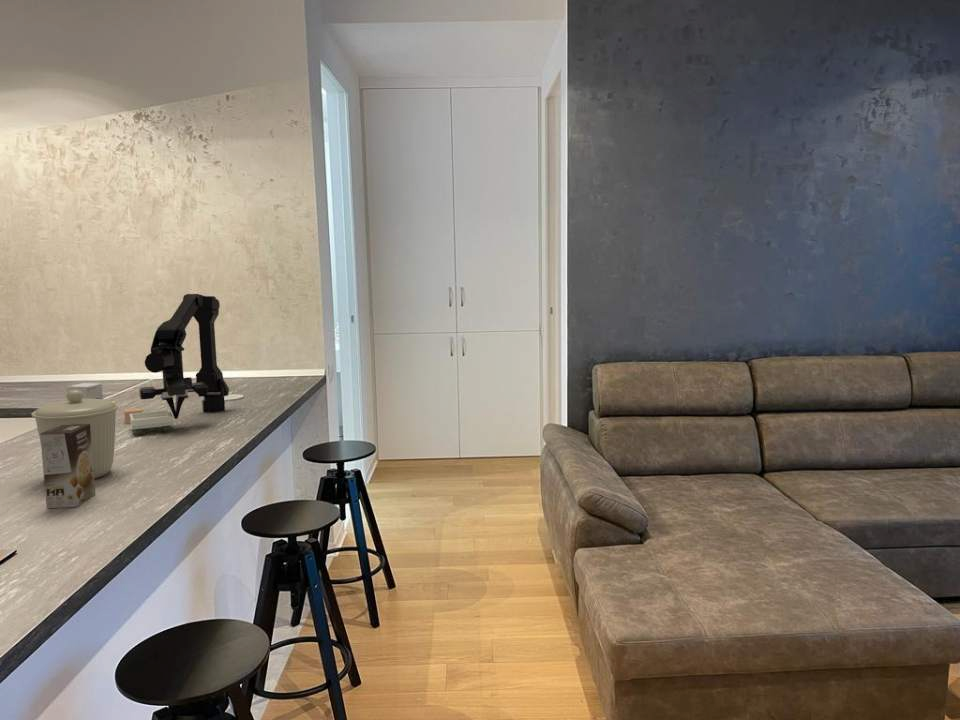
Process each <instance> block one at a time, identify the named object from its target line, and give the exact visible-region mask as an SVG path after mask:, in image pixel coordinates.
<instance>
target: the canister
mask: <svg viewBox="0 0 960 720" xmlns="http://www.w3.org/2000/svg"><path fill="white" fill-rule="evenodd" d="M65 395H66V396H65V397H66V399H67V400H60V401H54V402H50V403H47V404H44V405H42V406H40V407H38V408H37V409H36V410H34V411H32V412H31V417H32V418H35V423H36V428H37V432H38V437H39V440H40V443H41V436H40V433H43V432H46V431H48V430H50V429H53V428H55V427H58V426H60V425H70V424H90V430H91V442H92V455H93V468H94V480H95V479H98V478H102V477H103V476H106V474H108V473H109V472H110V471H111V469H112V468H113V464H114V455H115V444H116V443H115V439H116V417H117V416H116V414H117V412H116V411H117V410H118V409H119V405H118V404H117V403H113V401H111V400H108V399H105V398H103V399H83V393H82V392H81V391H80V390H71V391H69V392H68V393H67V392H66V394H65Z"/></svg>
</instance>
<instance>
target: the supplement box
mask: <svg viewBox="0 0 960 720" xmlns="http://www.w3.org/2000/svg"><path fill="white" fill-rule="evenodd" d="M71 390H80V391H81V392H82V393H83V399H104V396H103V395H104V394H103V393H104V392H103V384H102V383H101V382H100V383H99V382H98V383H97V382H82V383H77V384H73V385H68V386H66V394H67V393H68V392H69V391H71Z"/></svg>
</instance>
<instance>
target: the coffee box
mask: <svg viewBox="0 0 960 720" xmlns="http://www.w3.org/2000/svg"><path fill="white" fill-rule="evenodd" d="M40 436H41V442H40V446H41V457H42V469H43V483H44V493H45V494H44V495H45V503H46V505H45V506H46V509H60V508H61V509H62V508H63V509H64V508H77V507H79V506H80V505H83V504H84V502H86V501H88V500H89V499H91V498H92V497H93V496H95V495H96V484H95V481H96V480H95V479H94V468H93V455H92V442H91V430H90V424H70V425H60V426H58V427H55V428H53V429H50V430H48V431H46V432H43V433H40Z"/></svg>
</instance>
